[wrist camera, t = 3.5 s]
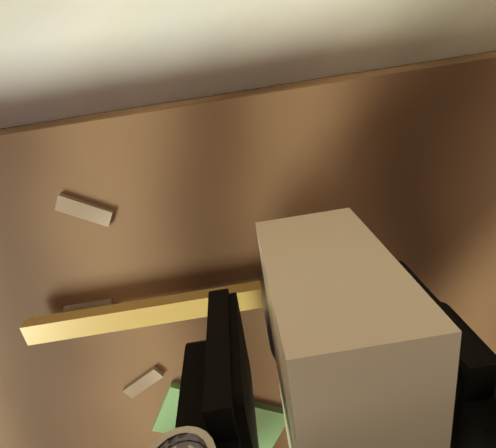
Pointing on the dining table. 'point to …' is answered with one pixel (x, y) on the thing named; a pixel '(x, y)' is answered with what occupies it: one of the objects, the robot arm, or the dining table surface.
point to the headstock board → (226, 229)
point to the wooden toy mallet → (324, 335)
